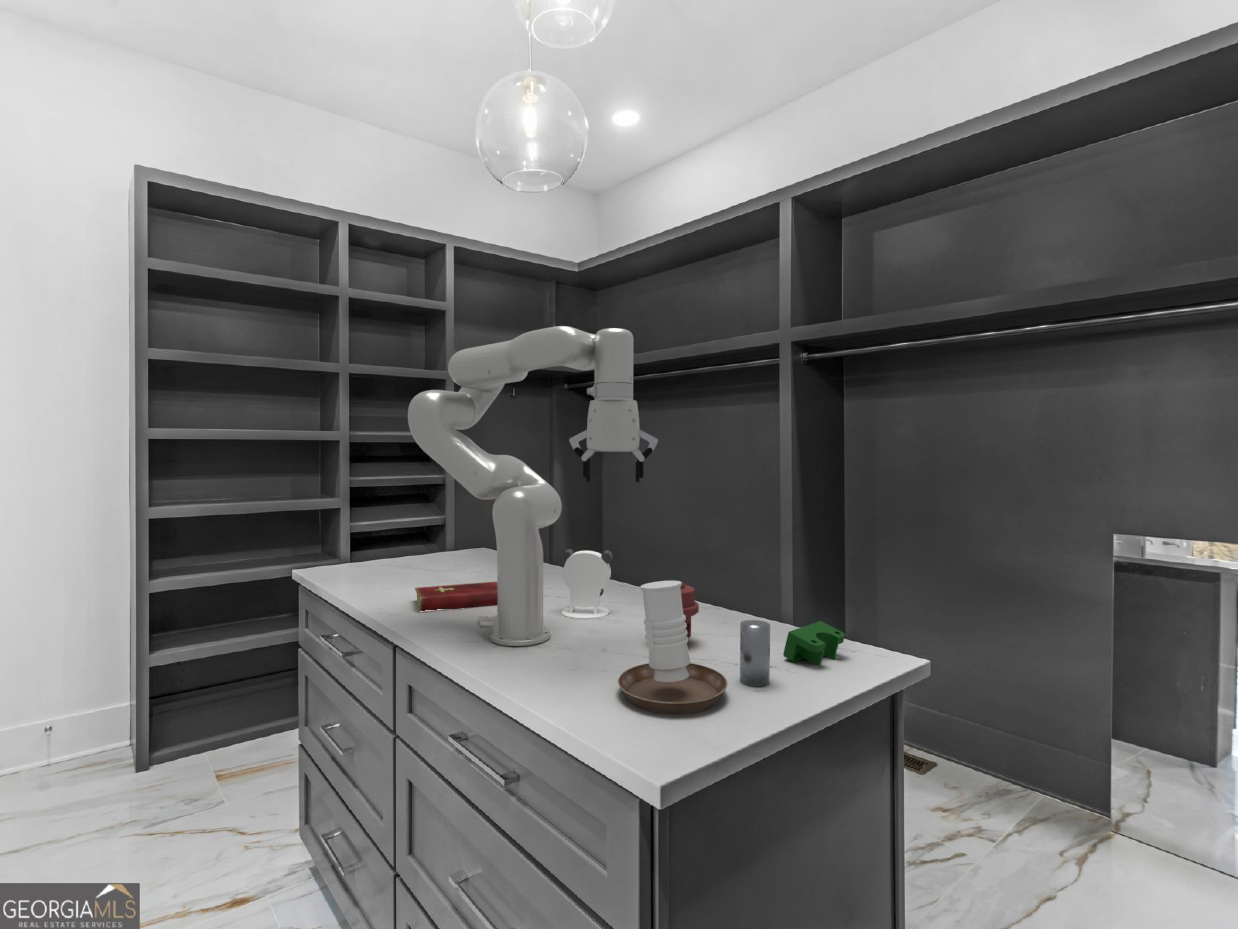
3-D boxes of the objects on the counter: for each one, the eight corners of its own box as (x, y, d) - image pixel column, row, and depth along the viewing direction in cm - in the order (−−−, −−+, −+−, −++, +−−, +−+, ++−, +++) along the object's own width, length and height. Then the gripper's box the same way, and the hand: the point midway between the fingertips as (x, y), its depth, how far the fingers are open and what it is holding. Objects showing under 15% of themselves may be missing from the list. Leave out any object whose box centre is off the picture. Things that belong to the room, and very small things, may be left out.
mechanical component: (700, 637, 137) (696, 652, 127) (653, 634, 139) (645, 648, 129) (700, 579, 136) (696, 589, 126) (653, 577, 138) (646, 587, 128)
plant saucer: (647, 729, 94) (647, 709, 94) (601, 687, 110) (601, 669, 110) (749, 710, 101) (749, 690, 101) (692, 672, 117) (692, 655, 117)
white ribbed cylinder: (641, 677, 107) (631, 586, 107) (674, 667, 110) (665, 579, 111) (666, 686, 101) (655, 589, 101) (700, 675, 105) (690, 582, 105)
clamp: (810, 688, 120) (810, 652, 116) (783, 672, 124) (782, 636, 120) (847, 652, 127) (848, 617, 122) (820, 638, 131) (820, 603, 127)
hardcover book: (506, 606, 163) (506, 590, 163) (419, 614, 155) (419, 597, 155) (496, 596, 174) (496, 580, 174) (415, 603, 166) (415, 586, 166)
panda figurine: (614, 607, 161) (614, 547, 160) (608, 620, 149) (609, 555, 149) (566, 606, 162) (566, 546, 161) (557, 618, 151) (557, 554, 150)
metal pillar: (741, 686, 109) (741, 627, 109) (738, 675, 114) (739, 619, 114) (771, 687, 109) (772, 628, 108) (767, 677, 114) (768, 620, 113)
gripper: (566, 392, 123) (566, 482, 124) (657, 392, 122) (657, 483, 122) (572, 395, 131) (572, 480, 131) (658, 395, 129) (658, 481, 130)
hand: (613, 481), depth 127 cm, fingers open, 9 cm apart
